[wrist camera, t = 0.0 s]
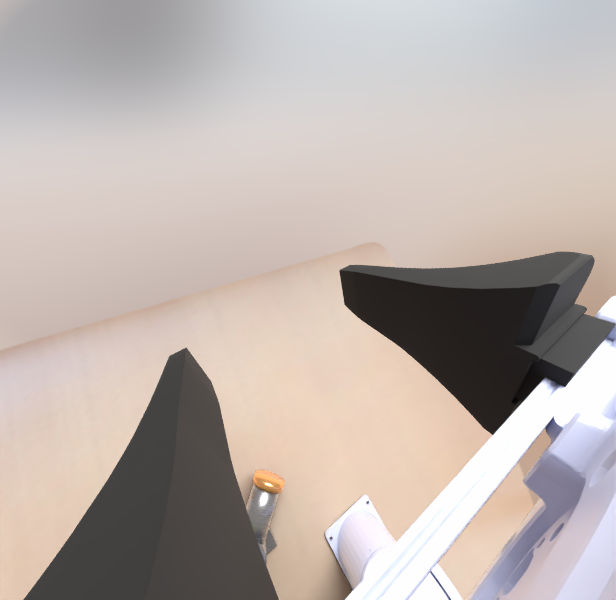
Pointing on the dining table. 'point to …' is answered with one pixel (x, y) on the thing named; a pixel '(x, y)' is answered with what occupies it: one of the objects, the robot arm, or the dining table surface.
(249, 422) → the dining table surface
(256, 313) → the dining table surface
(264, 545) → the elbow
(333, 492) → the dining table surface
